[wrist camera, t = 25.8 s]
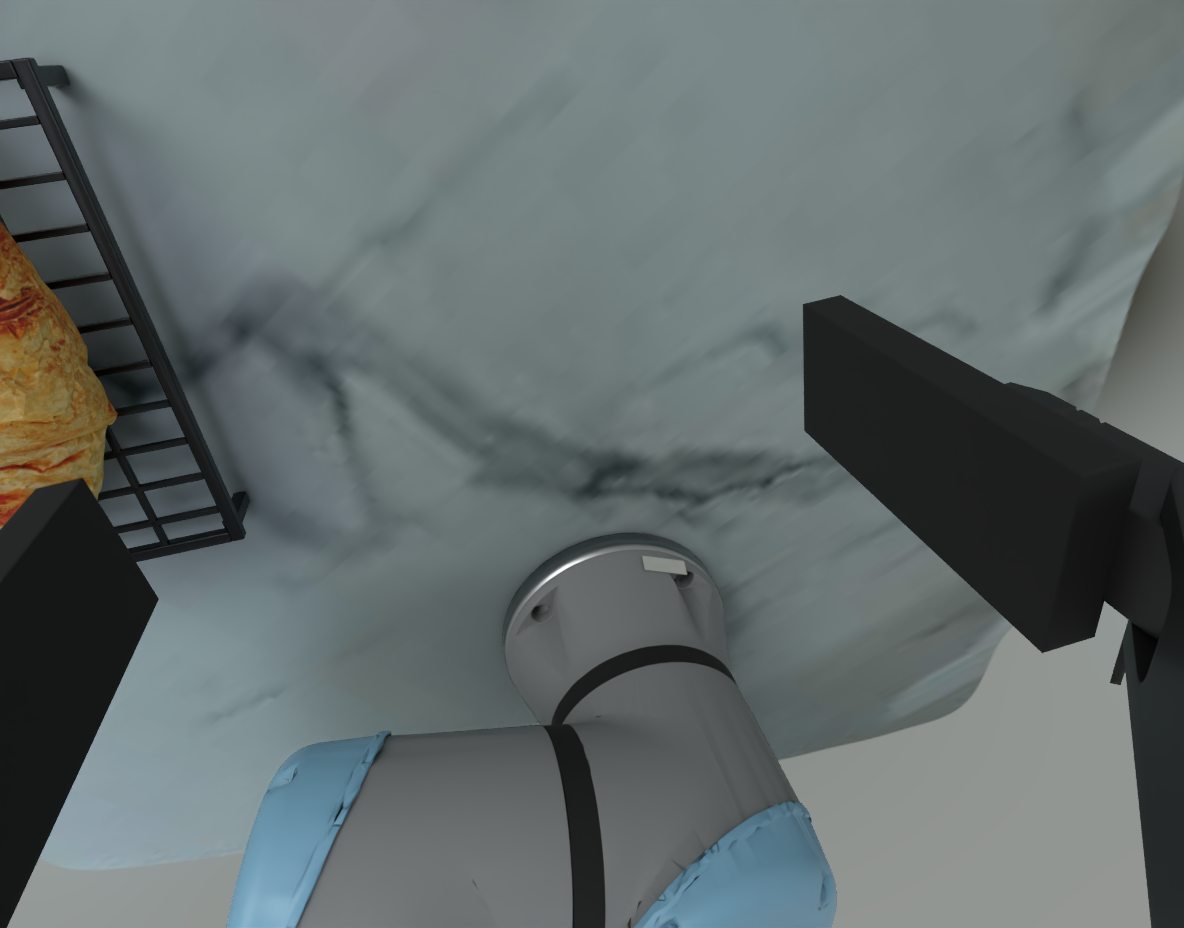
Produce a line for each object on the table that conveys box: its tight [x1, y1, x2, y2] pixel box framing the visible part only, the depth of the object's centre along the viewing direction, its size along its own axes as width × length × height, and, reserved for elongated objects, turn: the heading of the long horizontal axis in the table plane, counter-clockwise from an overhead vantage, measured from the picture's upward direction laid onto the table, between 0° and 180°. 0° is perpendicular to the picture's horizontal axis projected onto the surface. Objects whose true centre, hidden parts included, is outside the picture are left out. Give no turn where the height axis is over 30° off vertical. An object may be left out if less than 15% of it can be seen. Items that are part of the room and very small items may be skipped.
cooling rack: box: [0, 58, 250, 562], centre depth 33 cm, size 22×14×4 cm, turn 7°
